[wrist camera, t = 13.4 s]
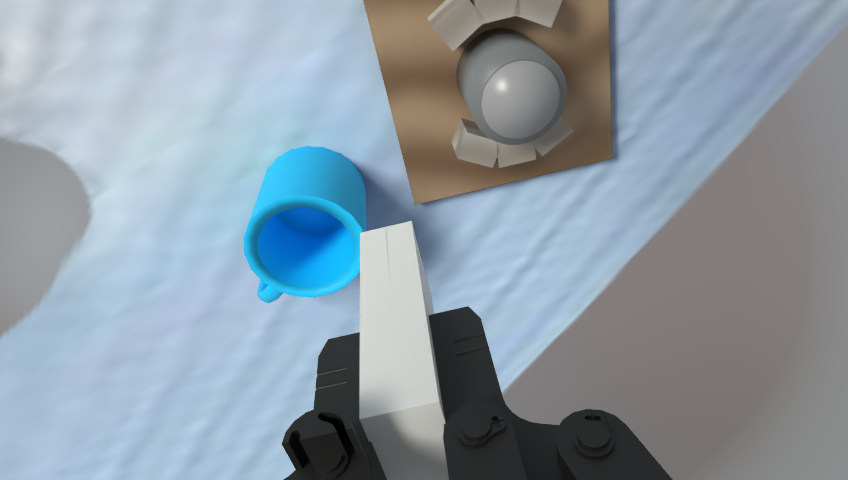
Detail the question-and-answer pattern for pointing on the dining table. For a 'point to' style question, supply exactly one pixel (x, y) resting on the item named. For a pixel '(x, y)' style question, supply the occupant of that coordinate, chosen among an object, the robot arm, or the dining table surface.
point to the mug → (307, 225)
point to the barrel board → (446, 109)
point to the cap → (510, 86)
